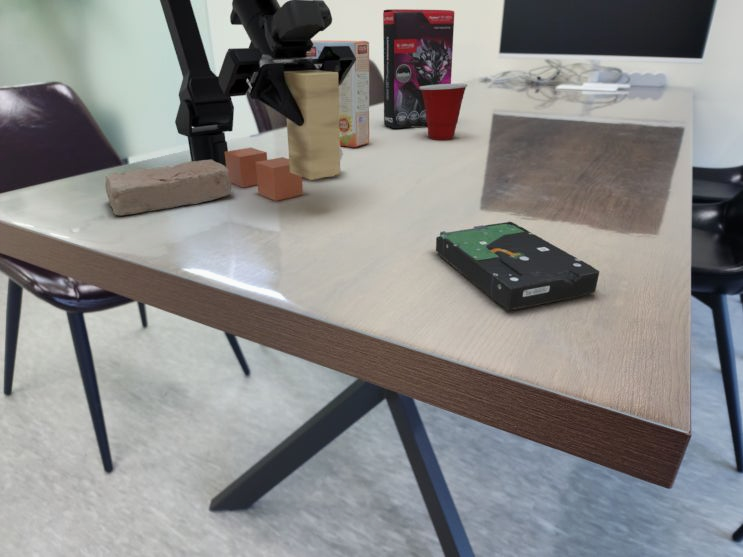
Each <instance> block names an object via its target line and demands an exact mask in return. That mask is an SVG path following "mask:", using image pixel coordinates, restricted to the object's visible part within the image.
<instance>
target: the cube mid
mask: <svg viewBox="0 0 743 557" xmlns="http://www.w3.org/2000/svg"><path fill="white" fill-rule="evenodd" d="M255 164H256V174H257V184H258V185H257V193H258V195H260V196H262V197H264V198H267V199H270V200H272V201H275V202H278V201H282V200H286V199H290V198H295V197H298V196H299V197H300V196H303V195H304V188H303V177H301V176H298V175H296V174H293V173H290V164H289V158H288V157H287V158H286V157H283V156H281V157H276V158H271V159H267V160H264V161H259V162H255Z"/></svg>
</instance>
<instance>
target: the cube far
mask: <svg viewBox="0 0 743 557" xmlns="http://www.w3.org/2000/svg"><path fill="white" fill-rule="evenodd" d="M225 160H226V168H227V169H228V170H229V176H230V178H231V184H233V185H236V186H238V187H239V188H240V187H241V188H243V189H244V188H248V187H249V188H250V187H252V186H258V184H257V174H256V164H255V162H259V161H264V160H268V152H267V151H264V150H260V149H257V148H254V147H246V148H245V147H244V148H240V149H233V150H228V151H226V152H225Z"/></svg>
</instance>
